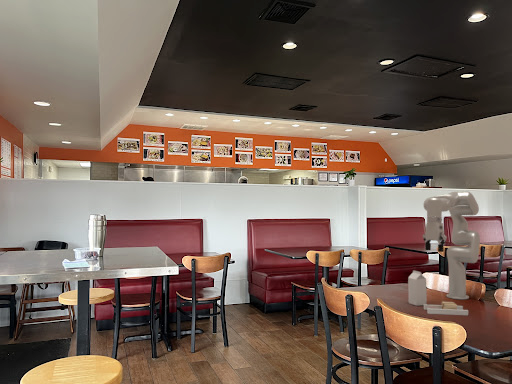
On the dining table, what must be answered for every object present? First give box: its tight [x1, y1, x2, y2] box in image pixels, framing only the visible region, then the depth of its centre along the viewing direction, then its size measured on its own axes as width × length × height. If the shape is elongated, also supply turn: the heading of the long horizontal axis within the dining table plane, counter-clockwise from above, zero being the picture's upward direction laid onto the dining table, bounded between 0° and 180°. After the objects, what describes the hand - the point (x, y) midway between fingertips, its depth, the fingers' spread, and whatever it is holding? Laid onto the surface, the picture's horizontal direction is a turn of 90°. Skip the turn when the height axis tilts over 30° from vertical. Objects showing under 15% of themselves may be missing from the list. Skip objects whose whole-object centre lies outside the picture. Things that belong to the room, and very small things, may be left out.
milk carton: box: [407, 269, 428, 306], centre depth 240 cm, size 7×7×19 cm
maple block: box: [441, 301, 458, 310], centre depth 222 cm, size 6×6×5 cm
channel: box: [423, 304, 469, 316], centre depth 222 cm, size 10×20×2 cm, turn 80°
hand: (434, 250), depth 231 cm, fingers open, 9 cm apart
